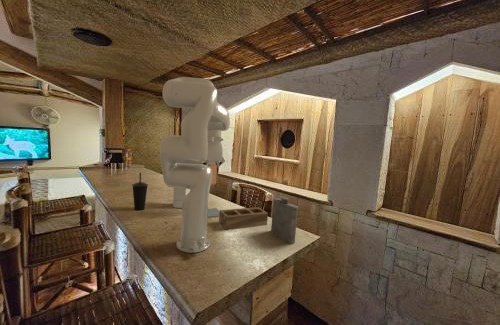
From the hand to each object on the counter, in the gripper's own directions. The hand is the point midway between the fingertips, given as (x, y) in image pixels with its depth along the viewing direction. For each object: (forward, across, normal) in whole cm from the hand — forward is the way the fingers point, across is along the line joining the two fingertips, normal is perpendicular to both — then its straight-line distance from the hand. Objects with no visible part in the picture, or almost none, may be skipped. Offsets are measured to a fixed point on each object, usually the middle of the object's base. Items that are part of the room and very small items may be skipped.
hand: (211, 173), depth 119 cm
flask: (+22, -22, +37) cm, 49 cm away
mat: (+22, 0, 0) cm, 22 cm away
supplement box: (+22, +12, -16) cm, 30 cm away
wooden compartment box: (+22, -12, +18) cm, 31 cm away
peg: (+5, 0, 0) cm, 5 cm away
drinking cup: (+22, +34, -16) cm, 44 cm away
